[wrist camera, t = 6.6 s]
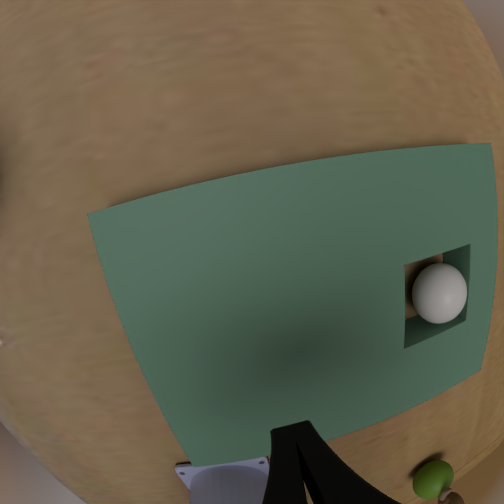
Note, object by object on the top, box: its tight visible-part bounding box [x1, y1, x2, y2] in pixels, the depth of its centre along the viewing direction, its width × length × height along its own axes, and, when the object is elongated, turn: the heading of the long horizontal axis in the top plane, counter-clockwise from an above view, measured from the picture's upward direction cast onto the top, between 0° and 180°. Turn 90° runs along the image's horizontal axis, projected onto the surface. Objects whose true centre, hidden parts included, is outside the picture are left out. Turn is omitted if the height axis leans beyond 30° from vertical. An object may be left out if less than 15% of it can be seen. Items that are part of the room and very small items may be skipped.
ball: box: [412, 263, 467, 324], centre depth 17 cm, size 4×4×4 cm
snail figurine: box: [413, 460, 464, 504], centre depth 20 cm, size 5×6×12 cm
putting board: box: [87, 143, 498, 467], centre depth 17 cm, size 18×24×3 cm
